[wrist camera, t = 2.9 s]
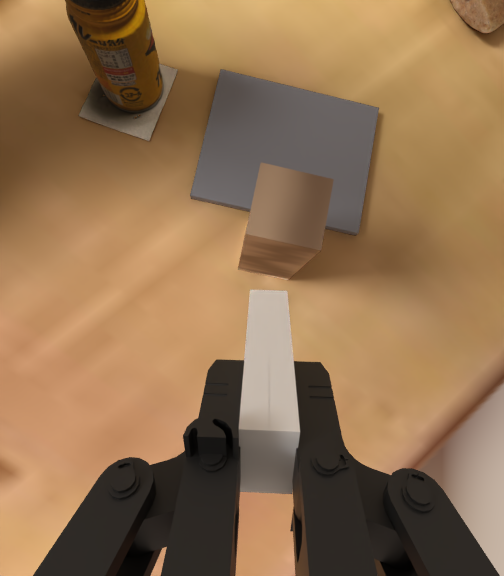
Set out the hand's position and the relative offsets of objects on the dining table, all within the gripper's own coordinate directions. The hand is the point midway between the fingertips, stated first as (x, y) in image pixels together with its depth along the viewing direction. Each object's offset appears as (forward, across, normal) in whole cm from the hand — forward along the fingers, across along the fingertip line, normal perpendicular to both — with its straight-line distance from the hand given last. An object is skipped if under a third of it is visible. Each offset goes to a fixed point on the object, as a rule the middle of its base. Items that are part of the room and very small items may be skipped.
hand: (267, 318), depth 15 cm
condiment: (+29, -14, +7) cm, 33 cm away
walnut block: (+20, 0, -6) cm, 21 cm away
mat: (+27, +2, +2) cm, 27 cm away
